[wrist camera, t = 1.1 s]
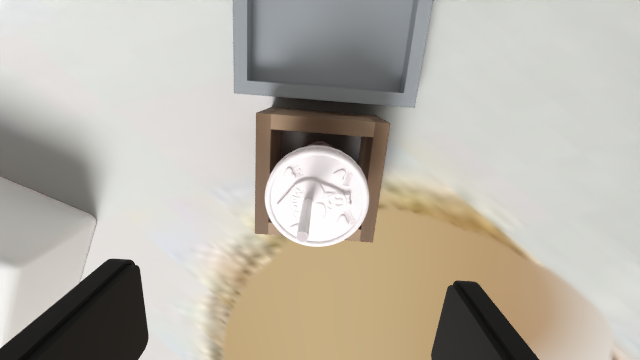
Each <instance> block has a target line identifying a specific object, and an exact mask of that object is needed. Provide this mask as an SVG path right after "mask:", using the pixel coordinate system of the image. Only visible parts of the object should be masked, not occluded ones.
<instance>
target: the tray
mask: <svg viewBox="0 0 640 360" xmlns="http://www.w3.org/2000/svg"><path fill="white" fill-rule="evenodd" d="M95 227H96V219H95V217H94V216H92V215H91V214H89V213H86V212H84V211H82V210H79V209H77V208H74V207H72V206H70V205H67V204H65V203H63V202H60V201H58V200H55V199H53V198H51V197H48V196H46V195H43V194H41V193H39V192H36V191H34V190H31V189H29V188H27V187H24V186H22V185H19V184H17V183H15V182H12V181H10V180H8V179H5V178H3V177H0V348H1V347H2V346H4V345H5V344H6V343H7V342H8V341H10V340H11V339H12V338H13V337H15V336H16V335H17V334H18V333H19V332H21V331H22V330H23V329H24V328H25V327H27V326H28V325H29V324H30V323H32V322H33V321H34V320H35V319H36V318H38V317H39V316H40V315H41V314H42V313H44V312H45V311H46V310H47V309H49V308H50V307H51V306H52V305H53V304H55V303H56V302H57V301H58V300H59V299H61V298H62V297H63V296H64V295H66V294H67V293H68V292H69V291H70V290H72V289H73V288H74V287H75V286H76V285H78V284H79V282H80V279H81V275H82V272H83V268H84V265H85V262H86V258H87V255H88V251H89V248H90V244H91V241H92V237H93V234H94V230H95Z"/></svg>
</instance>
